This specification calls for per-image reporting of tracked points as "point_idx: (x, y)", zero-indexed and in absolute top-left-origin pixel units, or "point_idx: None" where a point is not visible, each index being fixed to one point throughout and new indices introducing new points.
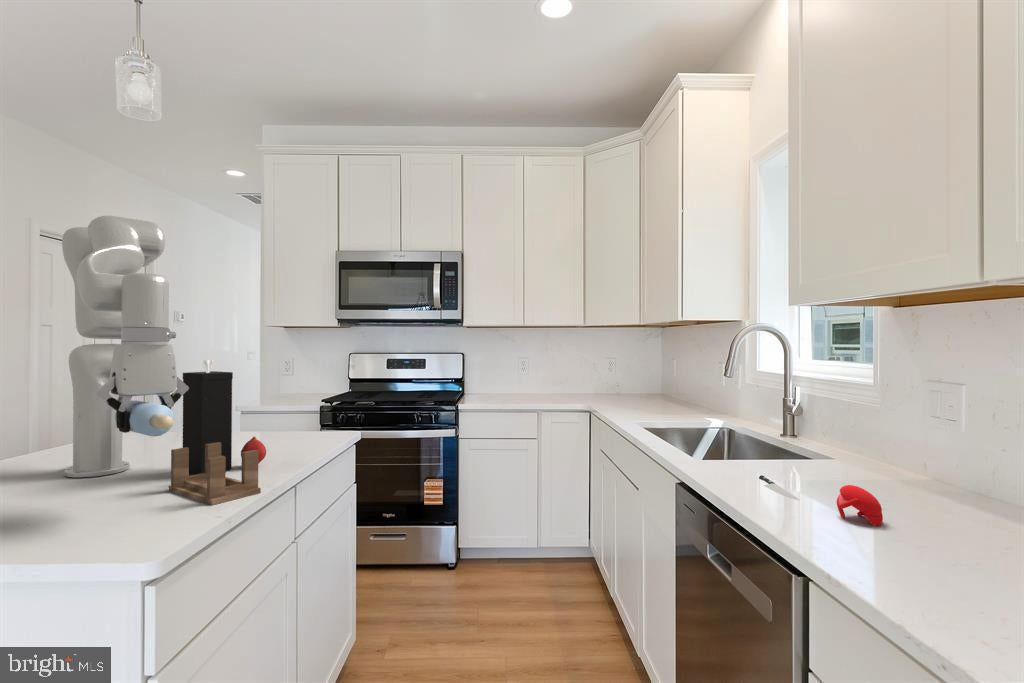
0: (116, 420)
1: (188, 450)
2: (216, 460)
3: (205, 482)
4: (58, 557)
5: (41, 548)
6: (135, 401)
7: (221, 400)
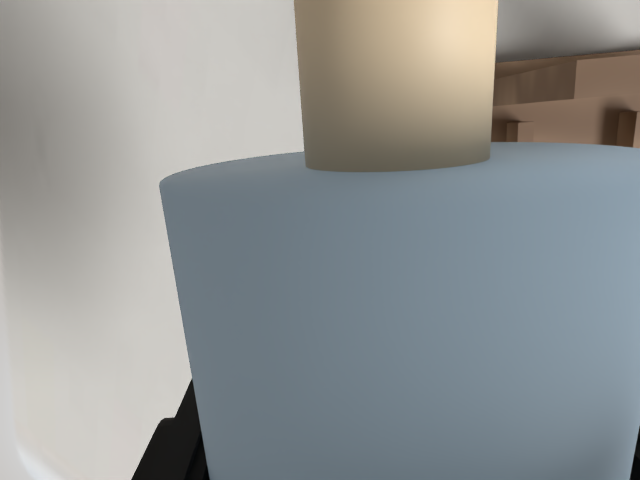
0: (140, 464)
1: None
2: None
3: (584, 127)
4: (98, 473)
5: (71, 394)
6: (428, 474)
7: None
